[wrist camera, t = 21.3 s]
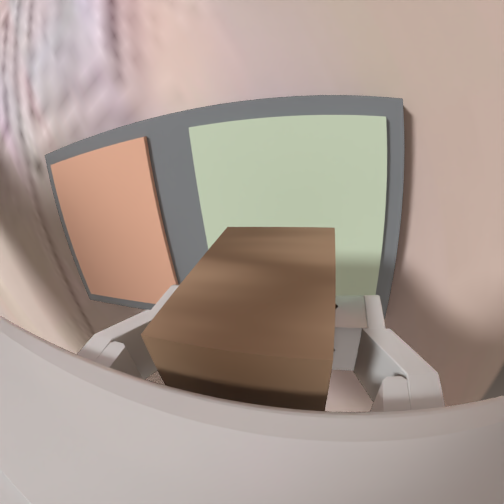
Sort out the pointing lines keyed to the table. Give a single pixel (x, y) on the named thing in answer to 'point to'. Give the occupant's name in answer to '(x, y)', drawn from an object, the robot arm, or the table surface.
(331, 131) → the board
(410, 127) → the table surface
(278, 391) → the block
